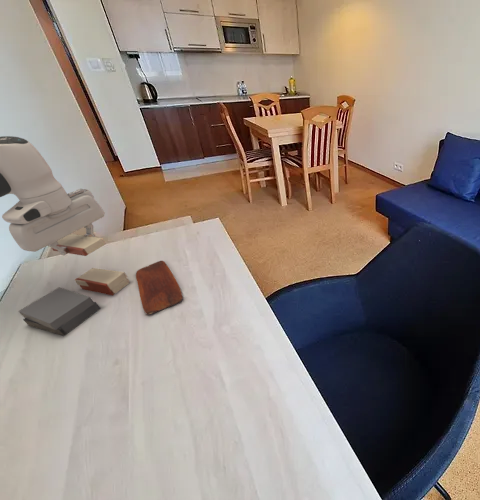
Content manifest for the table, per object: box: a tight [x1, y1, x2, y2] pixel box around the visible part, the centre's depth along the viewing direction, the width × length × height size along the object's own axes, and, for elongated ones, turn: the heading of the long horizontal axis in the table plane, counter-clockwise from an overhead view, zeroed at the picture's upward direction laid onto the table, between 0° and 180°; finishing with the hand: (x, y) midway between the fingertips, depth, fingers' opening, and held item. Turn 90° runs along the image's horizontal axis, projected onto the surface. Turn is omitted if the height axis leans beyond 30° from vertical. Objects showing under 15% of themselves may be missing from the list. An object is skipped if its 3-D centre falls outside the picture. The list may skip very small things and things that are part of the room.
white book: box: [51, 233, 107, 257], centre depth 86 cm, size 13×6×2 cm, turn 73°
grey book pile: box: [17, 286, 101, 337], centre depth 82 cm, size 15×11×5 cm
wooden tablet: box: [135, 260, 184, 316], centre depth 92 cm, size 27×10×2 cm, turn 37°
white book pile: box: [74, 267, 131, 297], centre depth 93 cm, size 13×7×4 cm, turn 73°
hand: (79, 246), depth 86 cm, fingers closed on white book, 6 cm apart
